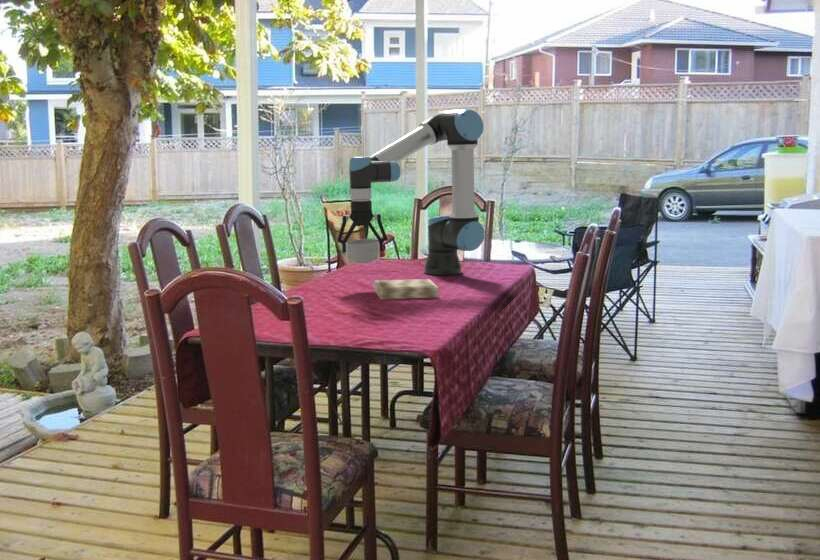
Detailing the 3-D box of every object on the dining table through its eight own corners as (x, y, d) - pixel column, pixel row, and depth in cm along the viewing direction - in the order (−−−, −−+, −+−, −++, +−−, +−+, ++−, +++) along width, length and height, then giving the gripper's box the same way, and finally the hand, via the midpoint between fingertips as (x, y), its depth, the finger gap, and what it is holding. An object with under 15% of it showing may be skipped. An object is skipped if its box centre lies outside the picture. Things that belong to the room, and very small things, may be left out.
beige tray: (429, 288, 320) (429, 278, 319) (438, 297, 302) (438, 286, 302) (374, 290, 317) (374, 280, 316) (380, 299, 299) (380, 288, 299)
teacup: (374, 264, 312) (373, 242, 311) (344, 264, 314) (343, 242, 313) (383, 258, 326) (382, 237, 324) (354, 258, 328) (354, 237, 327)
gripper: (391, 198, 321) (393, 258, 325) (327, 200, 318) (330, 260, 322) (394, 199, 314) (396, 261, 318) (329, 202, 311) (331, 263, 315)
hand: (362, 260), depth 320 cm, fingers closed on teacup, 11 cm apart
